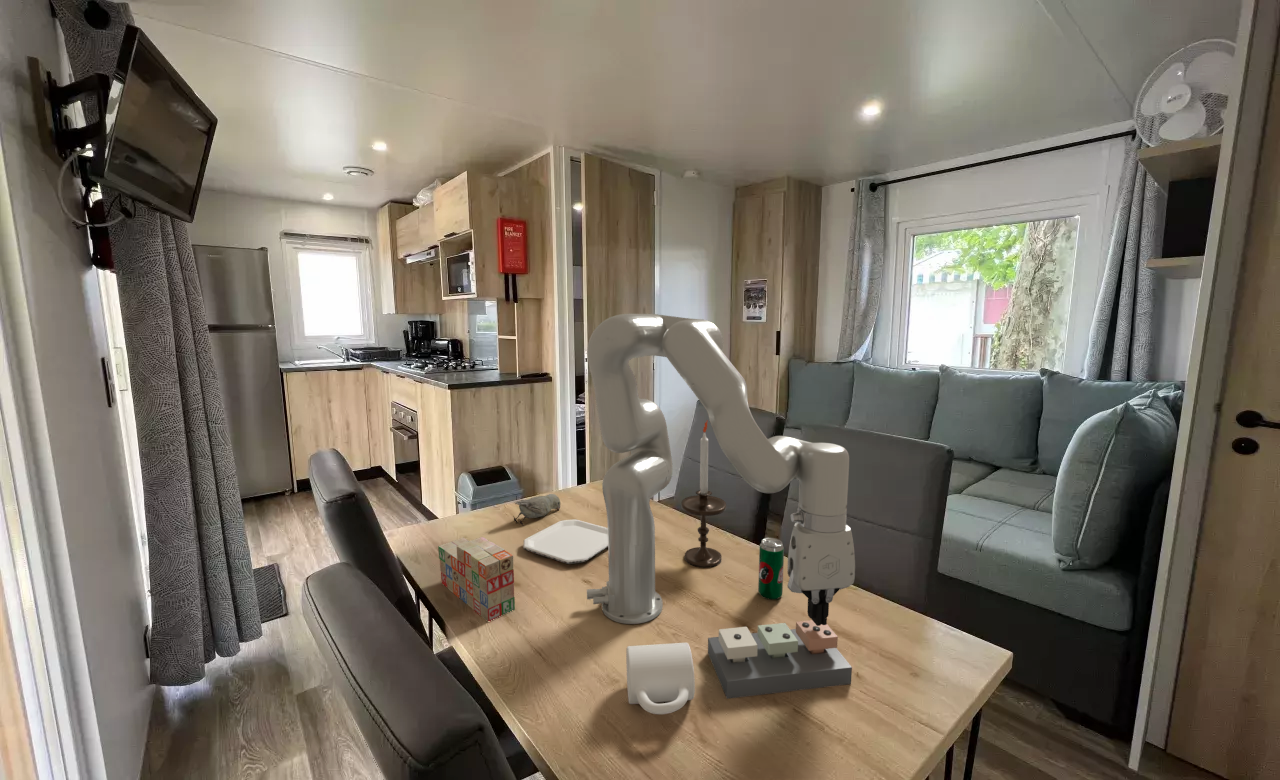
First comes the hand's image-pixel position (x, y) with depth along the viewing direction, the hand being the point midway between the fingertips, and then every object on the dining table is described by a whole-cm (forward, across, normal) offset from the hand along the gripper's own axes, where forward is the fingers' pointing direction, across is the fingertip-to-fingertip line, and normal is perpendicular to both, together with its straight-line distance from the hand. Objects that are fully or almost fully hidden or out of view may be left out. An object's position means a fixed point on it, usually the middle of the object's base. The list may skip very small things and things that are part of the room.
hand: (817, 620), depth 87 cm
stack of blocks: (+8, -62, +32) cm, 70 cm away
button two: (+7, -7, 0) cm, 10 cm away
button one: (+7, -14, 0) cm, 16 cm away
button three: (+7, 0, 0) cm, 7 cm away
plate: (+8, -41, +53) cm, 68 cm away
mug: (+8, -28, -5) cm, 30 cm away
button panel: (+8, -7, 0) cm, 11 cm away
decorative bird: (+8, -51, +73) cm, 89 cm away
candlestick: (+8, -9, +40) cm, 42 cm away
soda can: (+8, +1, +22) cm, 24 cm away
